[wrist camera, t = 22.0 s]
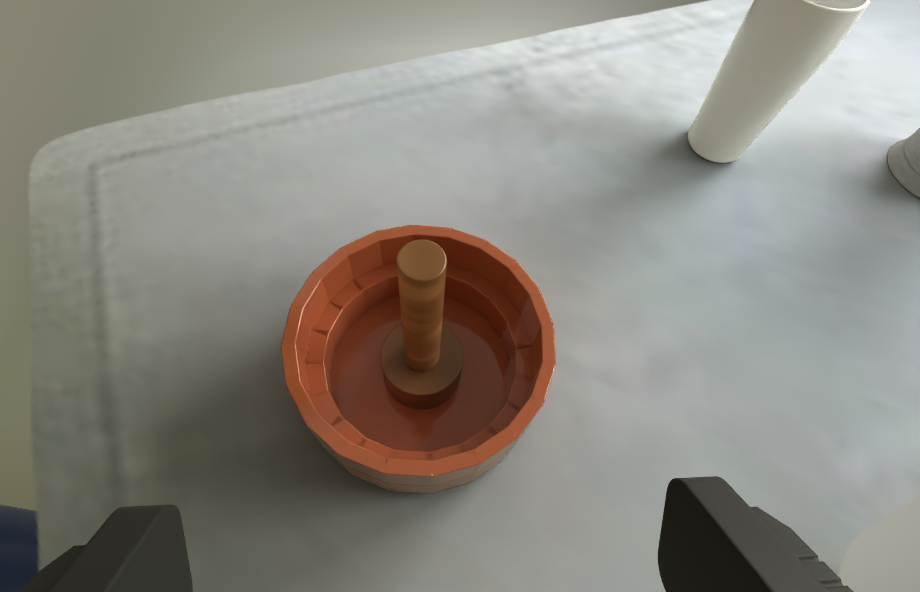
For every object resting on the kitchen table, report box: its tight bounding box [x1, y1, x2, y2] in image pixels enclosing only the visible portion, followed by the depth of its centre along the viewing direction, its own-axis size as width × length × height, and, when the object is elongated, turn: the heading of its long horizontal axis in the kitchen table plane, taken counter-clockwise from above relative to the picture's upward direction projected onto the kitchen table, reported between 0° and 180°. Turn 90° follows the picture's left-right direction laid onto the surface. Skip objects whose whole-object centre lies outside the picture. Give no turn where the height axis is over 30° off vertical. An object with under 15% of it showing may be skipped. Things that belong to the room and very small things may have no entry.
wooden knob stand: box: [380, 240, 463, 409], centre depth 28 cm, size 5×5×14 cm
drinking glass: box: [688, 0, 871, 163], centre depth 41 cm, size 7×7×15 cm
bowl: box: [281, 225, 556, 494], centre depth 32 cm, size 16×16×6 cm
